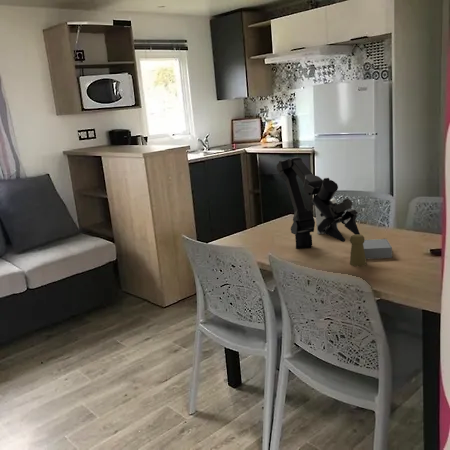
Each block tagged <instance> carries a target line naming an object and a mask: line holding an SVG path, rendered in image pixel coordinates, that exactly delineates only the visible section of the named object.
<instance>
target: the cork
mask: <svg viewBox="0 0 450 450" xmlns="http://www.w3.org/2000/svg"><path fill="white" fill-rule="evenodd" d="M364 240H366V239H365V237H364V235H363V234H361V233H360V234H352V235H351V236H350V237H349V242H350V244H351V247H350V258H349V265H350V266H353V267H363V266H365V265H367V259H366V257H365V252H364V246H363V243H364Z"/></svg>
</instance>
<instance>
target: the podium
mask: <svg viewBox="0 0 450 450" xmlns="http://www.w3.org/2000/svg"><path fill="white" fill-rule="evenodd" d="M363 246H364V252H365V257H366V260H369V259H370V260H371V259H374V260H376V259H392V258H393V247H392V245H391V244H390V241H389V240H388V239H387V238H379V239H365V240H364V243H363Z"/></svg>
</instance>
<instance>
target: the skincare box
mask: <svg viewBox="0 0 450 450" xmlns="http://www.w3.org/2000/svg"><path fill="white" fill-rule="evenodd" d="M331 201H332V203H333V204H334V203H337V200H336V198H332V199H331ZM314 210H315V225H316V233H317V234H319V235H320V234H322V235H324V234H323V233H320V232H319V231H318V228H317V226H318V225H319V224H320V223H321V222H322V221H323V219H326V218H325V217H324V216H323V217H321V216H320V214H321V212H320V211H319V209H318V208H317V207H316V206H315V205H314ZM338 224H339V223H337V229H338V230H339V225H338Z"/></svg>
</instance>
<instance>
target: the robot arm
mask: <svg viewBox="0 0 450 450" xmlns="http://www.w3.org/2000/svg"><path fill="white" fill-rule="evenodd" d="M276 169H277V172H278V175H279V176H280V178H281V179H282V180H283V181H285V184H286V187H287V190H288V194H289V197H290V201H291V204H292V207H293V211H294V212H293V213H294V214H293V216H292V225H291V227H290V233H291V234H293V235H294V236H295V238H294V239H295V249H311V248H312V246H313V237H312V235H313V234H311V233H314V232H315V227H316V229H317V228H318V231H319V232H320V233H323V234H322V235H327V236H329V237H332V238H334V239H336V240H338V241H340V242H342V243H344V242H346V238H345V237H344V236H343V234H342V233H341V231H340V230H339V228H338V229H337V224H339V223H342V225H343V226H344V227H345V228H346V229H348V231H350V232H351V233H353V235H355V234H360V235H361V233H360V231H359V227H358V225H357V222H356V221H357V217H358V215H359V213H358V212H357V210H356V209H352V208H353V207H352V206H353V202H352V201H351V199H349V198H345V199H343V200H342V202H340V203H337V202H336V203H334V204H333V203H332V201H331V199H334V196H335V195H336V192H337V191H338V189H339V185H338V183H336V181H334V180H332V179H330V178H329V177H324V178H323V179H322V178H321V177H320V176H318V175H315V174H314V173H313V172H311V170H310V169H309V168H308V167H307V165H306V164H305V163H304V162H303V159H302V157H300V156H294V157H290V158H288V159H285V160H278V163H277V164H276ZM297 176H298V178H299V179H300V180H301V182H302V183H303V190H304V192H305V193H306V195H307V196H313V197H312V198H310V206H312V207H313V206H314V207H315V206H316V207H317V208H318V209H319V211H320V212H321V214H320V216H321V217H323V216H324V217H325V218H326V219H323V221H322V222H321V223H320V224H319V225H318V226H317V225H316V219H315V218H314V216H313V212H312V210H311V209H309V210H308V209H307V207H306V205H305V201H304V198H303V196H302V191H301V189H300V185H299V181H298V178H297ZM315 225H316V226H315Z"/></svg>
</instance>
